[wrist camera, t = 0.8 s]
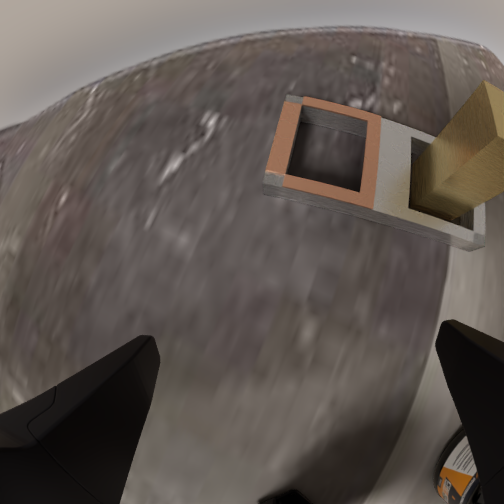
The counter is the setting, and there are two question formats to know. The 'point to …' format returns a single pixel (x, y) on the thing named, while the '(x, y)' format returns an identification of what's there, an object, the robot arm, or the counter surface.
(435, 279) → the counter surface
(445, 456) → the supplement container
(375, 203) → the divided tray
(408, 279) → the counter surface
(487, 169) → the tan block
